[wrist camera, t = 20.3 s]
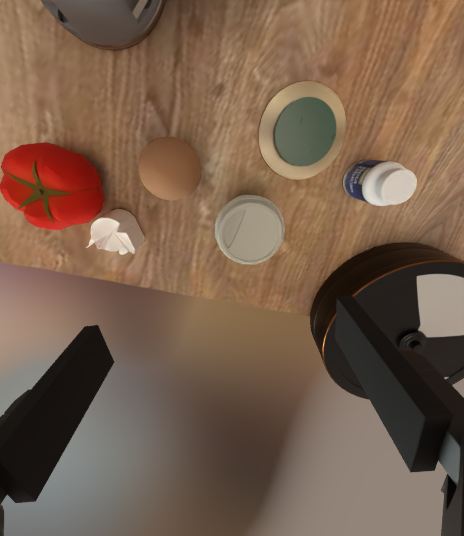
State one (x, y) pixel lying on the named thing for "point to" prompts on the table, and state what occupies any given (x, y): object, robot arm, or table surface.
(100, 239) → the jagged white extruded chunk
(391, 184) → the pill bottle
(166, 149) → the egg
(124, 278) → the table surface
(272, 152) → the coaster
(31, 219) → the tomato
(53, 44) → the table surface
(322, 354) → the container
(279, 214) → the coffee cup
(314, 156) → the lid
